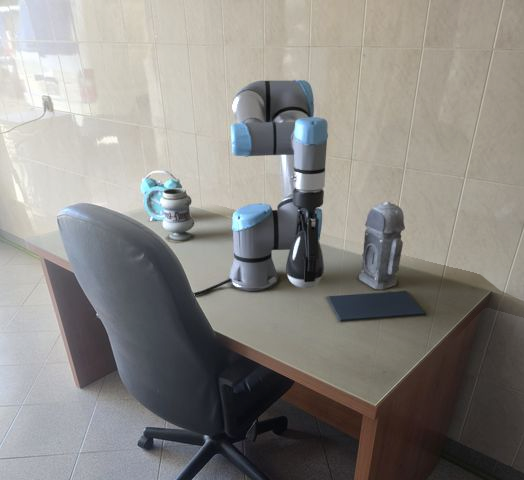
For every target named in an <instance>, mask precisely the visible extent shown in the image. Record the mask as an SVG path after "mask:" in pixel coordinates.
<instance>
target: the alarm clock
mask: <svg viewBox="0 0 524 480" xmlns="http://www.w3.org/2000/svg"><path fill="white" fill-rule="evenodd" d="M154 173H155V174H156V173H157V174H159V173H161V174H165V175H168V176H170V177H171V178H170V179H168V180H167V181H165V183H163V182H162V180H156V179H154V178H151V177H150V176H151V175H153V174H154ZM141 182H142V183H141V184H140V192H141V194H142V195H144V196H143V206H144V209H145V211H146V212H147V214H148V216H150V219H149V221H150V222H153V221H155V220H158V221H164V219H165V213H164V208H163V207H162V206H161V205H160V199H161V198H162V197H163V191H165V190H167V189H172V188H182V189H183V185H182V184H181V180H180V178H176V177H175V176H174V175H173V174H172V173H170V172H169V171H167V170H161V169H160V170H153V171H151V172H149V173H148V175H146V176H145V177H142V180H141Z"/></svg>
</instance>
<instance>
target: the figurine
mask: <svg viewBox="0 0 524 480" xmlns="http://www.w3.org/2000/svg"><path fill="white" fill-rule="evenodd" d="M366 216H367V217H366V221H365V223H364V226H365V227H366V230H365V231H364V238H363V252H362V254H361V256H362V263H361V273H360V274H359V276H358V280H359V281H361V282H363V283H364V284H366V285H367V286H369V287H371V288H372V289H374V290H386V289H389V288H392V287H394V286H396V285H397V280H398V278H397V277H396V274H397V273H398V272H399V271H400V263H401V257H402V251H403V245H404V242H403V240H402V232H403V231H404V230H405V229H406V226H405V220H404V219H405V216H404V212H403V210H402V208H401V207H400V206H398V205H397V204H394V203H391V202H390V201H386V202H382V203H379V204H376V205H375V206H373V207H372V208H371V209H370V211H369V212H368V213H367V215H366Z"/></svg>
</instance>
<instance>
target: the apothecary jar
mask: <svg viewBox="0 0 524 480" xmlns="http://www.w3.org/2000/svg"><path fill="white" fill-rule="evenodd" d="M192 202H193V201H192V198H191V196H190V195H188V194H187V190H186V189H185V188H183V187H182V188H172V189H167V190H165V191H163V197H162V198H161V199H160V205H161V206H162V207H163V208H164V213H165V219H164V220H162V227H163V229H164V230H165V231H166V232H168V233H169V232H170V234H168V236H167V238H166V239H167V240H169V241H170V242H173V243H184V242H188V241H191V240H192V239H193V238H194V237H193V234H192V233H191V232H188V231H190V230H191V229H192V228H193V227H194V226H195V219H194V218H193V217H192V216H191V211H190V206H191V204H192Z"/></svg>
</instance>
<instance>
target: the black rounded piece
mask: <svg viewBox="0 0 524 480" xmlns="http://www.w3.org/2000/svg"><path fill="white" fill-rule="evenodd" d="M323 254H324V253H323V251H322V246H321V243H320V239H319V240H318V256H319V258H318V259H316V267H315V281H314V282H304V267H305V260H304V259H303V257H306V247H305V233H304V232H303V231H302V230H301V231H300V232H299V233H298V234H297V235H296V237H295V238H294V240H293V242H292V245H291V248H290V250H289V251H288V255H287V260H286V266H285V272H286V275H287V278H288V280H289V282H290V283H291V284H292V285H294V286H296V287H297V288H303V289H307V288H311V287H314V286H316V285H317V284H319V282H320V281H321V280H322V278H323V275H324V273H325V263H324V255H323Z"/></svg>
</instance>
